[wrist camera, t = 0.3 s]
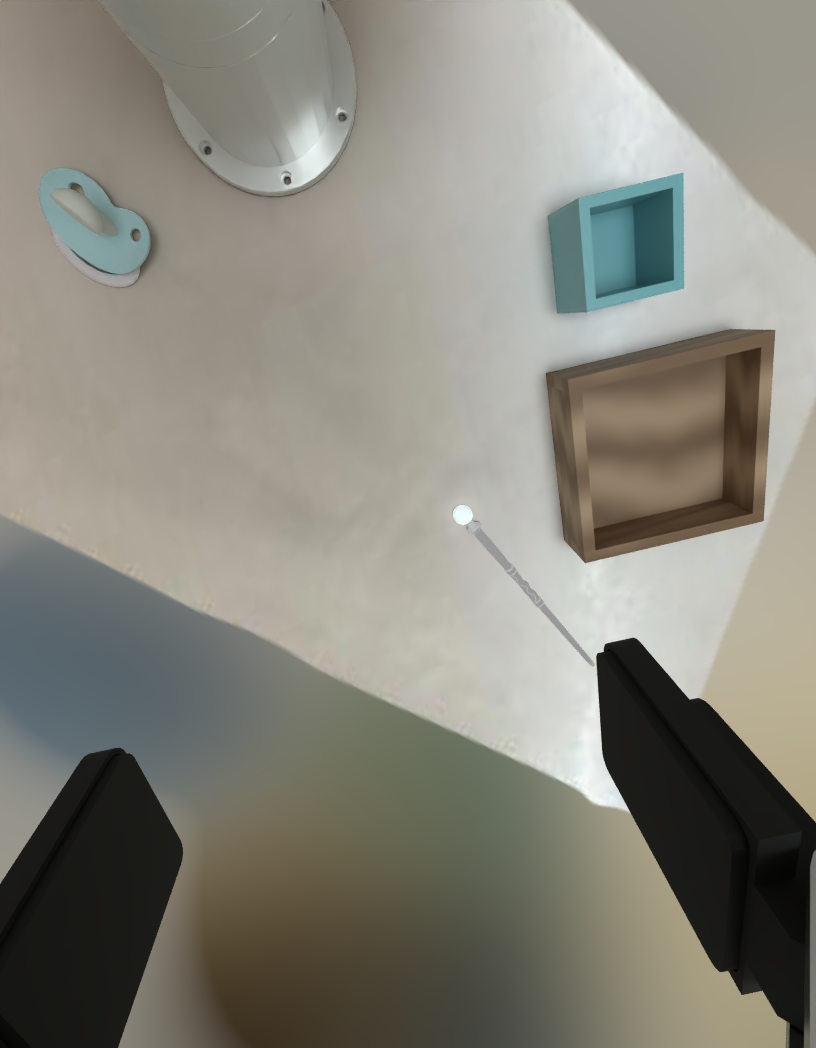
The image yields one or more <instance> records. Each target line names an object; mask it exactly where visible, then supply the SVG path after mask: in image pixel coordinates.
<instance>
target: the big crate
mask: <svg viewBox="0 0 816 1048" xmlns="http://www.w3.org/2000/svg"><path fill="white" fill-rule="evenodd" d="M774 341H775V330H743V329H729V330H725V331H721V332H717V333H713V334H709V335H704V336H700V337H696V338H692V339H688V340H684V341H679V342H675V343H671V344H667V345H663V346H659V347H654V348H650V349H646V350H642V351H638V352H634V353H629V354H625V355H621V356H617V357H613V358H609V359H604V360H600V361H596V362H592V363H588V364H584V365H579V366H575V367H571V368H567V369H563V370H559V371H554V372H550V373H546V378H547V387H548V397H549V406H550V415H551V424H552V433H553V442H554V451H555V460H556V469H557V478H558V487H559V496H560V505H561V514H562V523H563V533H564V540H565V541H566V542H567V544H568V545H569V546H570V547H571V548H572V549H573V550H574V551H575V552H576V553H577V555H578V556H579V557H580V558H581V559H582V560H583V561H584V562H585V563H587V562H592V561H596V560H600V559H604V558H609V557H613V556H617V555H621V554H626V553H630V552H634V551H638V550H643V549H647V548H651V547H655V546H660V545H664V544H668V543H672V542H677V541H681V540H685V539H690V538H694V537H698V536H702V535H707V534H711V533H715V532H719V531H724V530H728V529H732V528H736V527H741V526H745V525H749V524H753V523H758V522H762V521H764V505H765V488H766V472H767V456H768V439H769V423H770V407H771V390H772V374H773V358H774Z"/></svg>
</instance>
